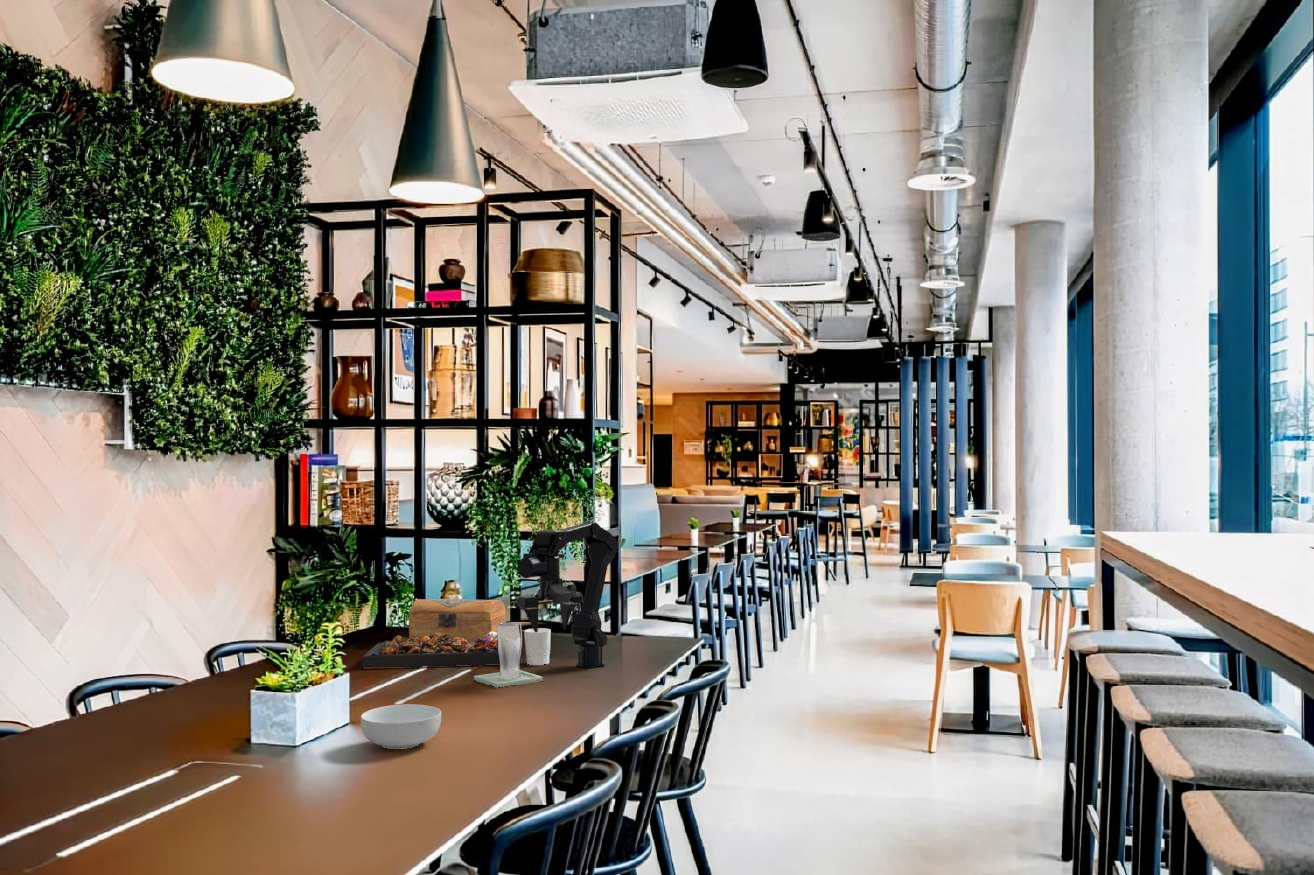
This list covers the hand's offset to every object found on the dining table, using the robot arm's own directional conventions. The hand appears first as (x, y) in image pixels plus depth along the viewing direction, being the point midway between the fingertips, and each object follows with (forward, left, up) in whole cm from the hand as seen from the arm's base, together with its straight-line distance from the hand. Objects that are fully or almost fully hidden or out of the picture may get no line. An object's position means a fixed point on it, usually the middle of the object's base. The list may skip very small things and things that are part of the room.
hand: (550, 630), depth 303 cm
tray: (+12, -3, -13) cm, 18 cm away
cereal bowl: (+62, +43, -13) cm, 77 cm away
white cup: (-7, -20, -13) cm, 25 cm away
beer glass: (+11, -3, -13) cm, 17 cm away
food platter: (+12, -45, -14) cm, 49 cm away
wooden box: (-8, -78, -14) cm, 79 cm away
